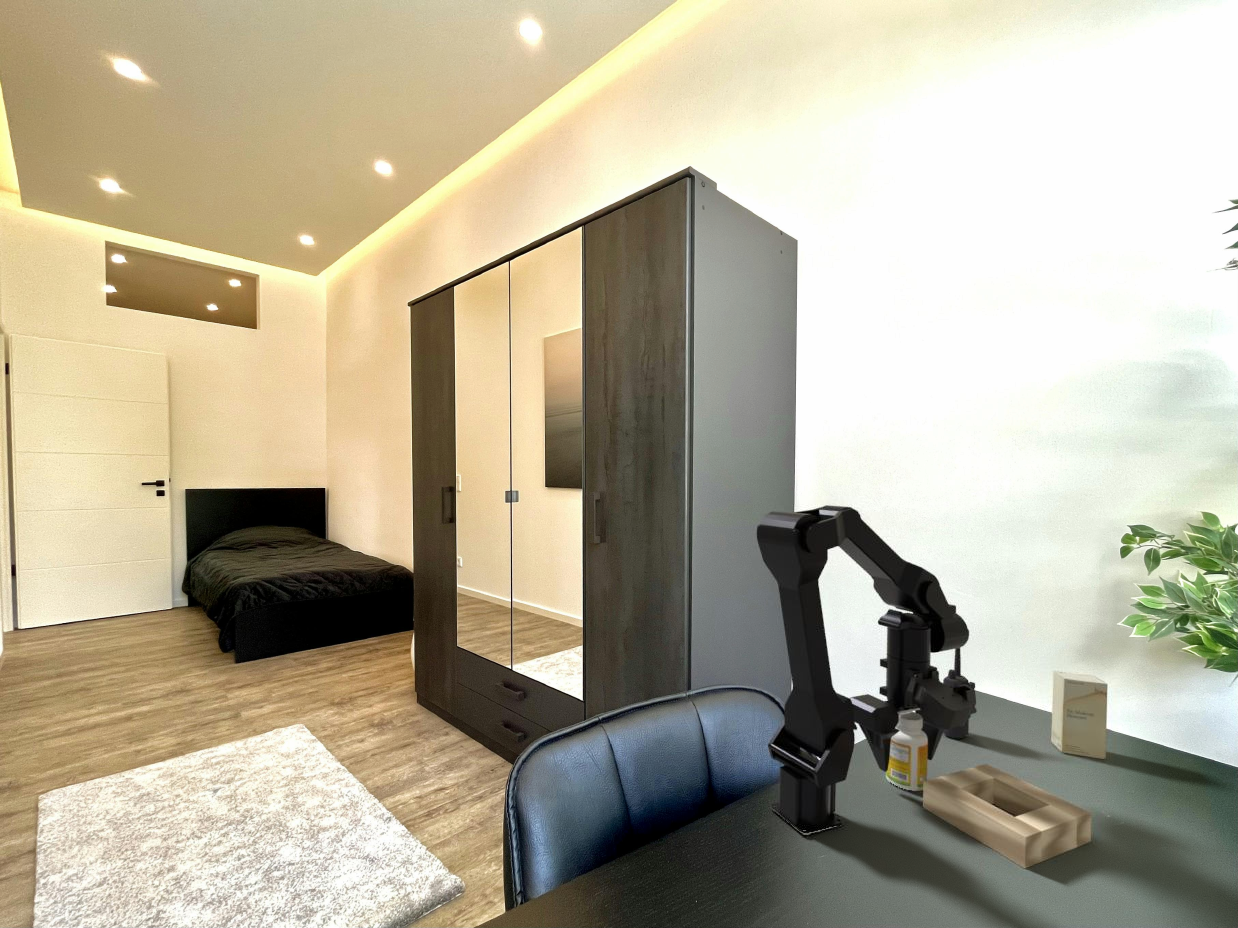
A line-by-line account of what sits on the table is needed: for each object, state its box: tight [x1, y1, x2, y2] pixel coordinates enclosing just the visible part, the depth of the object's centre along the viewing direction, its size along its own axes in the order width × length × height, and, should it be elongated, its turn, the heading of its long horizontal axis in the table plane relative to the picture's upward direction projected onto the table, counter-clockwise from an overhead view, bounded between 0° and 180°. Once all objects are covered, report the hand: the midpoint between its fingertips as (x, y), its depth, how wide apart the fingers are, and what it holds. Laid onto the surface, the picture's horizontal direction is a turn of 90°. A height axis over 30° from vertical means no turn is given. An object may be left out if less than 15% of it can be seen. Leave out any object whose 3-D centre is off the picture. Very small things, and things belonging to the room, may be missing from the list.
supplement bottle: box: [885, 711, 928, 792], centre depth 84 cm, size 5×5×10 cm
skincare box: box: [1050, 670, 1108, 760], centre depth 96 cm, size 6×4×12 cm
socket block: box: [922, 763, 1092, 869], centre depth 74 cm, size 13×13×4 cm
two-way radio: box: [942, 648, 976, 740], centre depth 100 cm, size 6×4×15 cm
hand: (906, 764), depth 84 cm, fingers open, 9 cm apart
